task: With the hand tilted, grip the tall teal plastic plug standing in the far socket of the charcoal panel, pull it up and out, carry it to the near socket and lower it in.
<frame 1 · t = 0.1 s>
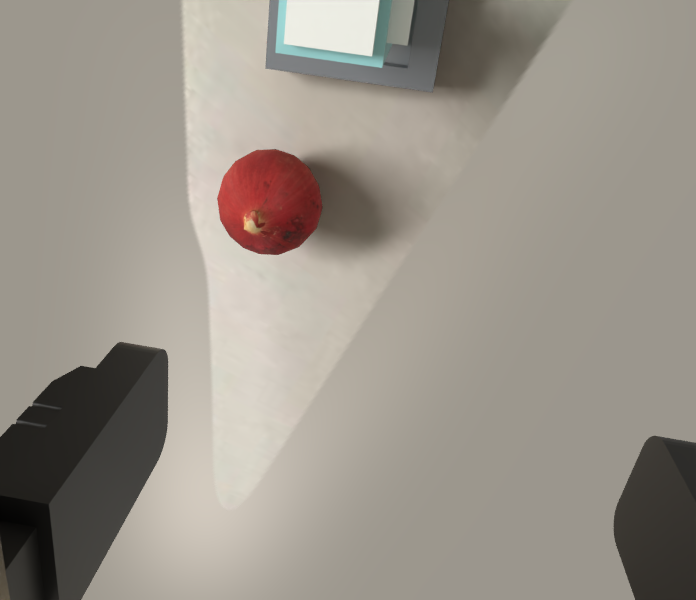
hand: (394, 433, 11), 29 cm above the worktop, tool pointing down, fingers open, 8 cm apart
onion: (283, 184, 39), on the worktop
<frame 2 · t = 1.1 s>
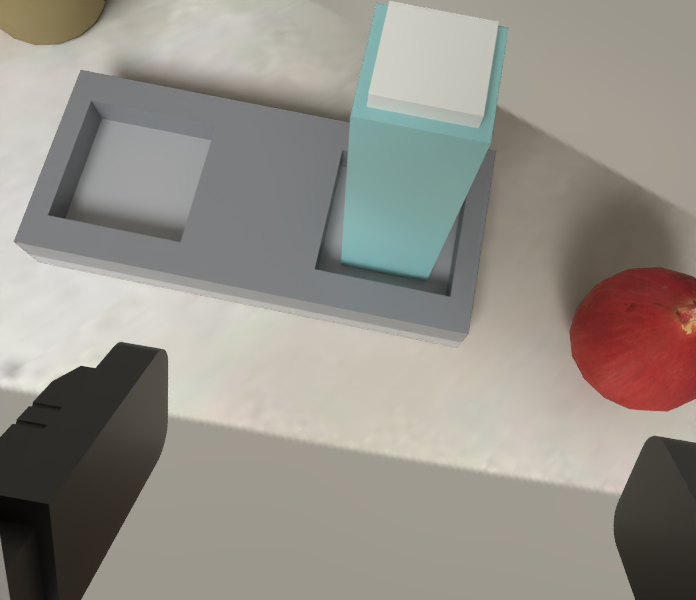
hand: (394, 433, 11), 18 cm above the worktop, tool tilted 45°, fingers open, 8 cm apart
panel: (268, 217, 31), on the worktop
onion: (606, 358, 30), on the worktop
plug: (391, 234, 30), point 1 cm above the worktop, touching panel
squeeze bottle: (53, 5, 34), on the worktop
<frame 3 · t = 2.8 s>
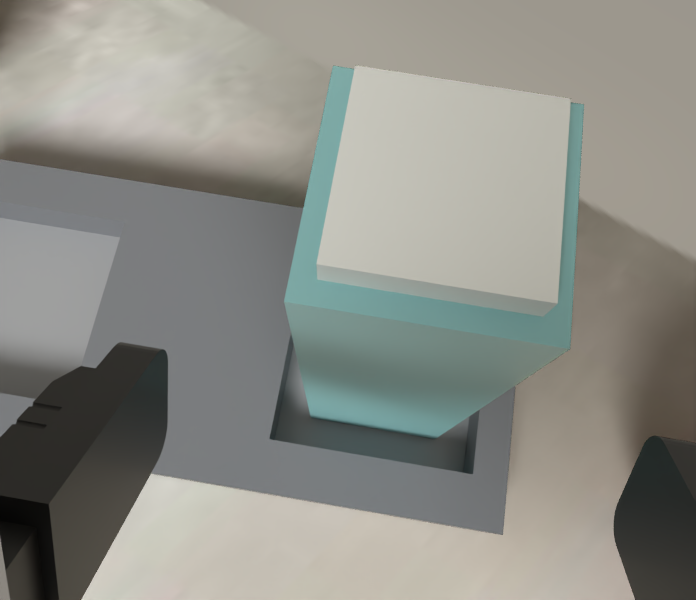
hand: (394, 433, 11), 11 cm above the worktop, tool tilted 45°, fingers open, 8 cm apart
panel: (208, 344, 22), on the worktop
plug: (382, 367, 21), point 1 cm above the worktop, touching panel
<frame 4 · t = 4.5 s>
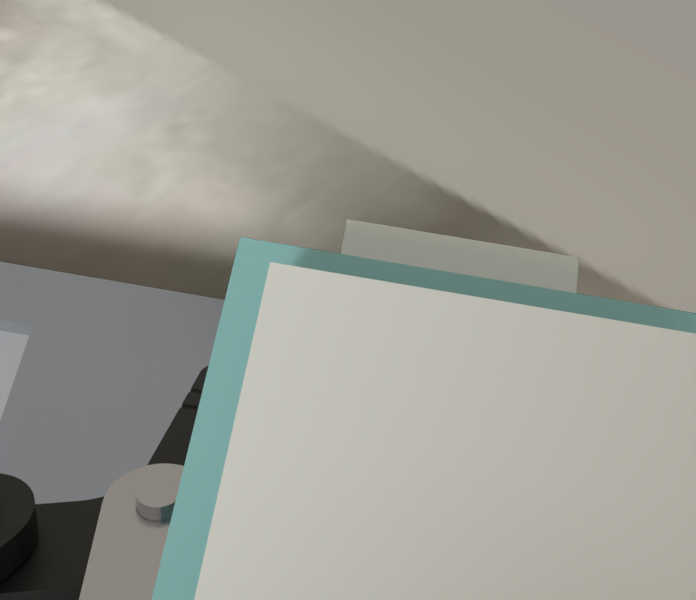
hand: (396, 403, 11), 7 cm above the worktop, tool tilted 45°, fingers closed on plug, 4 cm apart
panel: (145, 474, 17), on the worktop
plug: (365, 513, 16), point 1 cm above the worktop, touching gripper, panel
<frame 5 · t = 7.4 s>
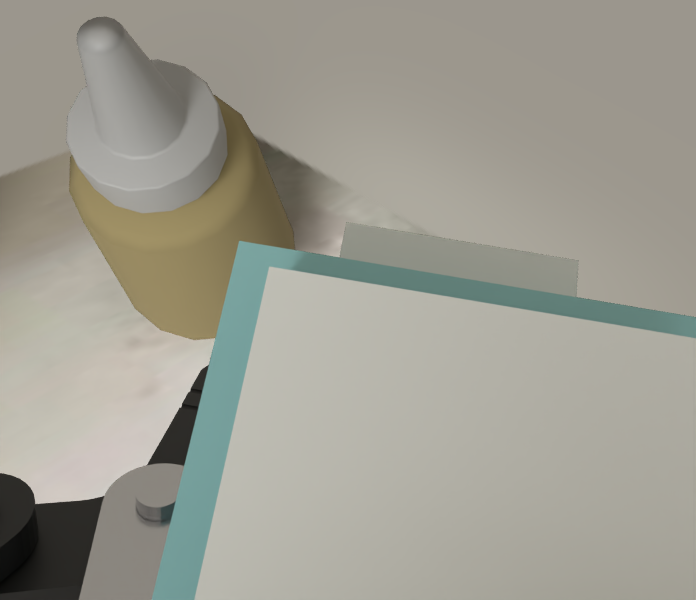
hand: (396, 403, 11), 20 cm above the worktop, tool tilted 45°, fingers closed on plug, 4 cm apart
plug: (365, 514, 16), point 14 cm above the worktop, touching gripper
squeeze bottle: (222, 283, 33), on the worktop
when the fingers open (7 cm above the worktop, at t = 10.5 s): plug stays where it is, resting on panel.
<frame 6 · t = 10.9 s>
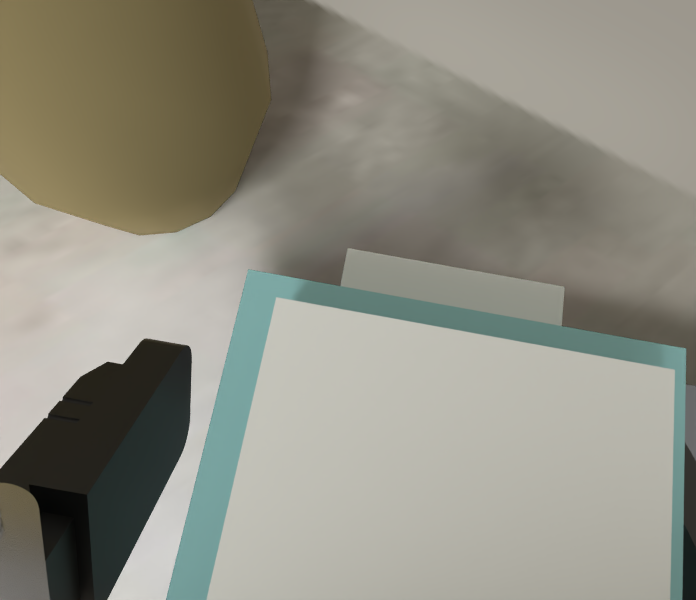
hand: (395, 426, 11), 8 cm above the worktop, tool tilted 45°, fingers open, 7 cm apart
panel: (578, 552, 17), on the worktop
plug: (363, 518, 17), point 1 cm above the worktop, touching panel
squeeze bottle: (160, 159, 21), on the worktop
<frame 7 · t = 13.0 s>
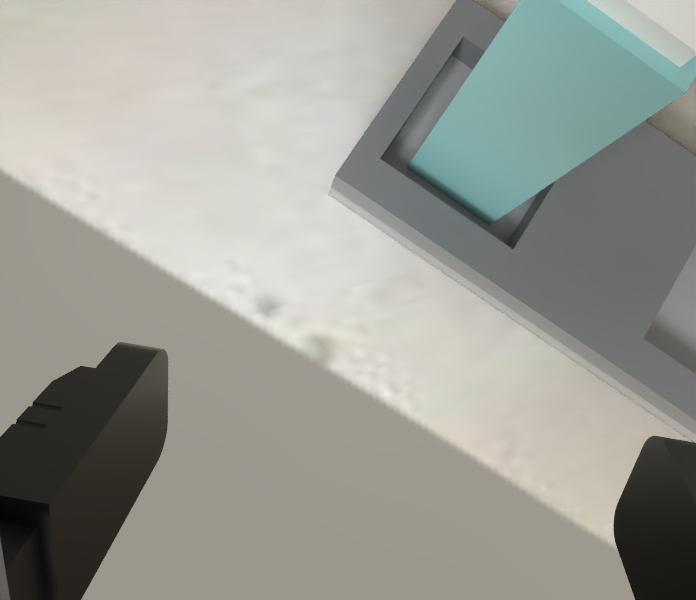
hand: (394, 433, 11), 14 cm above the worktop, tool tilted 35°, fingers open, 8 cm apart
panel: (584, 243, 27), on the worktop
plug: (474, 157, 25), point 1 cm above the worktop, touching panel
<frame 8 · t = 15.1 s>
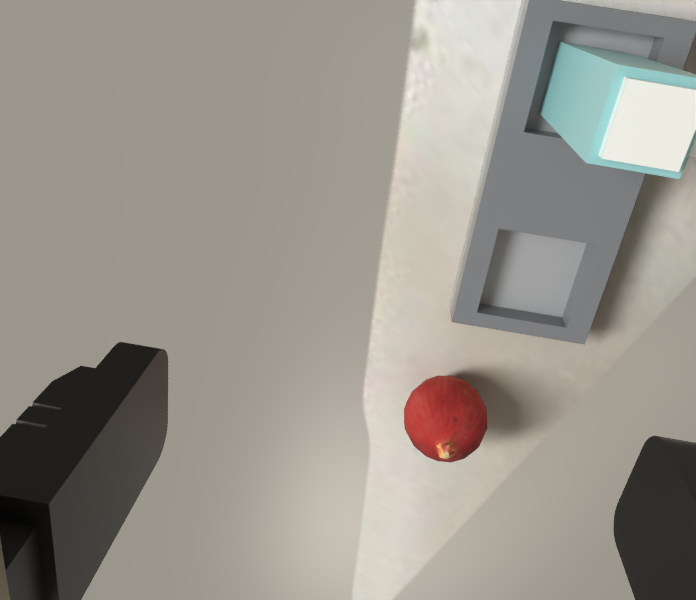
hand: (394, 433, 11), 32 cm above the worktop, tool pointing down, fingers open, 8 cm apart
panel: (552, 178, 40), on the worktop
onion: (443, 386, 48), on the worktop
plug: (583, 83, 37), point 1 cm above the worktop, touching panel
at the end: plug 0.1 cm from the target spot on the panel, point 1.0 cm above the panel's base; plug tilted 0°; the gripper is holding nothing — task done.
